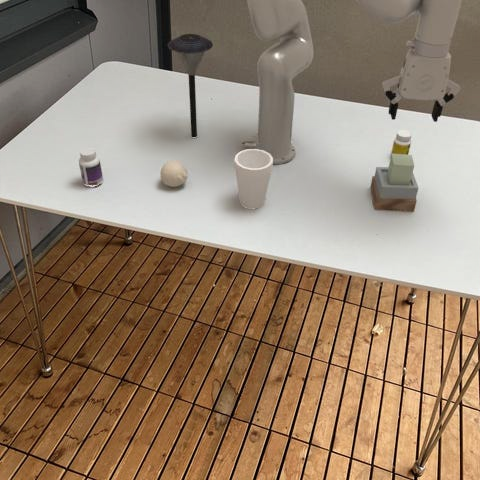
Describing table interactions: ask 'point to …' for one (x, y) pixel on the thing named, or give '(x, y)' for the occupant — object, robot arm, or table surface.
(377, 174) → the grey block
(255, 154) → the foam cup
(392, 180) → the sage block
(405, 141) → the supplement bottle
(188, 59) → the solar garden light
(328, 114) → the table surface
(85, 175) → the pill bottle
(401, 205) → the walnut block
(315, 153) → the table surface
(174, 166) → the cream round ball
